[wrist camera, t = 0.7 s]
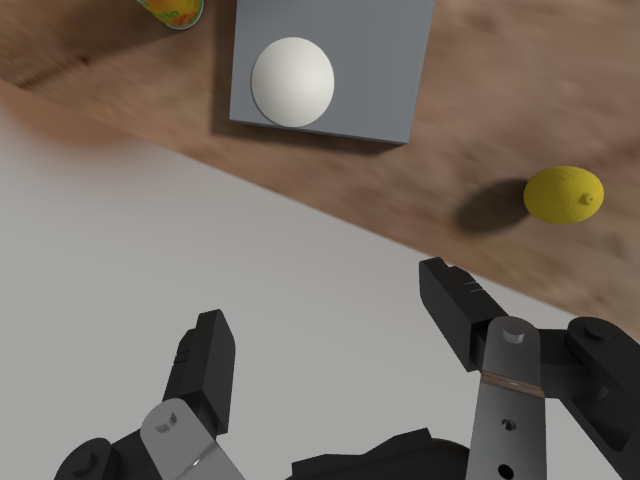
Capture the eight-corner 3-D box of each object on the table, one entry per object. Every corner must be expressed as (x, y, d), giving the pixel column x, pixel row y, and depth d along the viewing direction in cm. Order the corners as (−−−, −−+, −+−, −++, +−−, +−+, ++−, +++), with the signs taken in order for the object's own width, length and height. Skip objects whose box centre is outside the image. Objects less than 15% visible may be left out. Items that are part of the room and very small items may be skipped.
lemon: (511, 222, 36) (558, 237, 28) (506, 172, 35) (554, 173, 27) (564, 212, 36) (627, 224, 28) (560, 160, 34) (625, 158, 27)
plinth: (249, -24, 32) (239, -45, 29) (429, -3, 32) (439, -21, 29) (238, 123, 36) (228, 118, 32) (402, 145, 35) (408, 142, 32)
